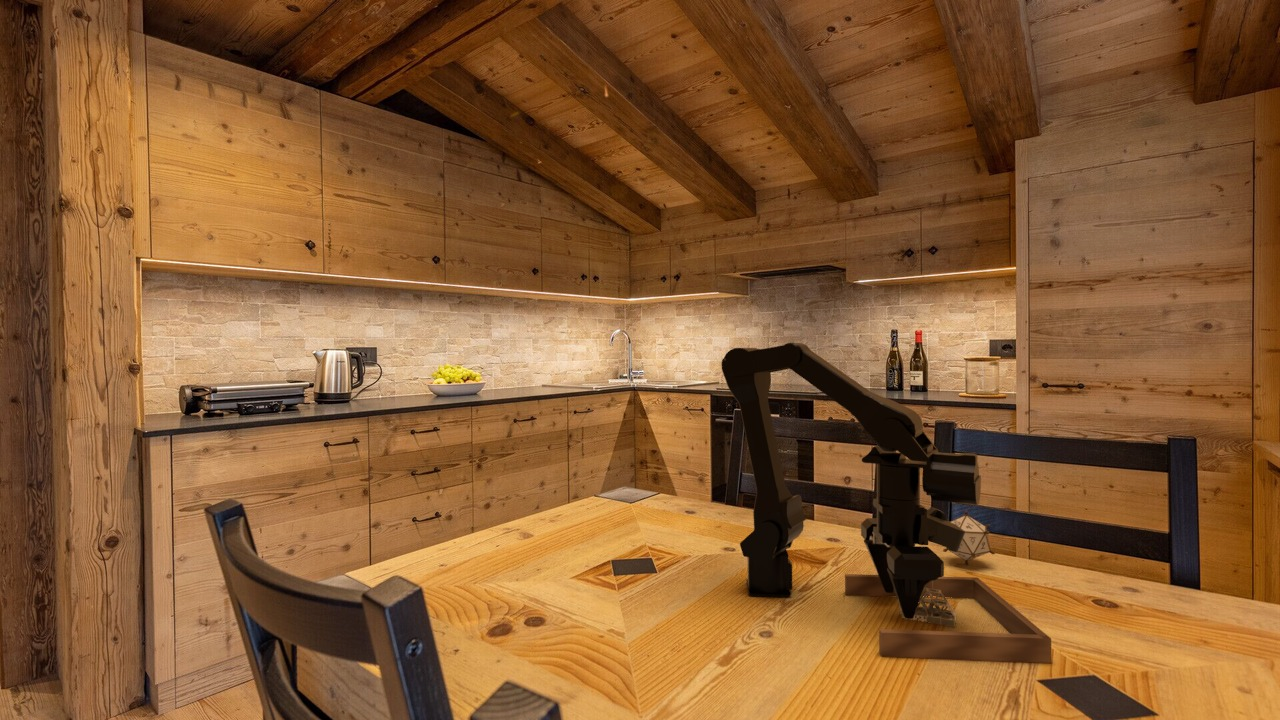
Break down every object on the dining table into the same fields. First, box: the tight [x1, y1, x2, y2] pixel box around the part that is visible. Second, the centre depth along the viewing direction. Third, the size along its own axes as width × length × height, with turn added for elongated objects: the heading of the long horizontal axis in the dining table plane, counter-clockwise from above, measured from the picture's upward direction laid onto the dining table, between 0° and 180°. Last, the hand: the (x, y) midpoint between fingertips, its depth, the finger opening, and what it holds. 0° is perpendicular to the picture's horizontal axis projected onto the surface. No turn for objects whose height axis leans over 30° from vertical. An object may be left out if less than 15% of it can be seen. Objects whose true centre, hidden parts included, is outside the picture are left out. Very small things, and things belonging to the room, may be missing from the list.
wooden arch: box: [844, 573, 1052, 664], centre depth 88 cm, size 20×21×3 cm
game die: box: [942, 509, 996, 566], centre depth 111 cm, size 9×8×10 cm
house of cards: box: [899, 587, 957, 628], centre depth 92 cm, size 9×9×8 cm
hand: (898, 604), depth 90 cm, fingers open, 9 cm apart
